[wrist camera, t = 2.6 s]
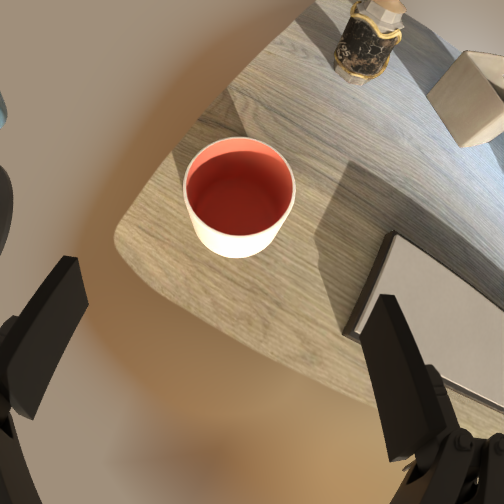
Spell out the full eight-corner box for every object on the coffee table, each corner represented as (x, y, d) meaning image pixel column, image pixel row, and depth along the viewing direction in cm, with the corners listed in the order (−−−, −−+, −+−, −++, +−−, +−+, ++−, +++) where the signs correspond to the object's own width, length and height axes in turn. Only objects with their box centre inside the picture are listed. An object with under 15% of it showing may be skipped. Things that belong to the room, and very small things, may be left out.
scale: (341, 334, 35) (351, 335, 32) (385, 234, 38) (397, 228, 35) (507, 415, 34) (519, 418, 31) (532, 343, 37) (544, 343, 34)
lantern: (318, 62, 43) (364, -62, 19) (347, 49, 45) (396, -60, 20) (358, 96, 42) (428, -25, 18) (384, 80, 44) (451, -25, 19)
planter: (423, 123, 43) (488, 53, 24) (426, 94, 44) (481, 27, 26) (490, 170, 43) (561, 123, 24) (489, 139, 44) (551, 91, 25)
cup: (221, 276, 35) (219, 261, 26) (178, 204, 37) (163, 167, 27) (294, 232, 37) (317, 203, 27) (249, 165, 38) (257, 120, 29)
